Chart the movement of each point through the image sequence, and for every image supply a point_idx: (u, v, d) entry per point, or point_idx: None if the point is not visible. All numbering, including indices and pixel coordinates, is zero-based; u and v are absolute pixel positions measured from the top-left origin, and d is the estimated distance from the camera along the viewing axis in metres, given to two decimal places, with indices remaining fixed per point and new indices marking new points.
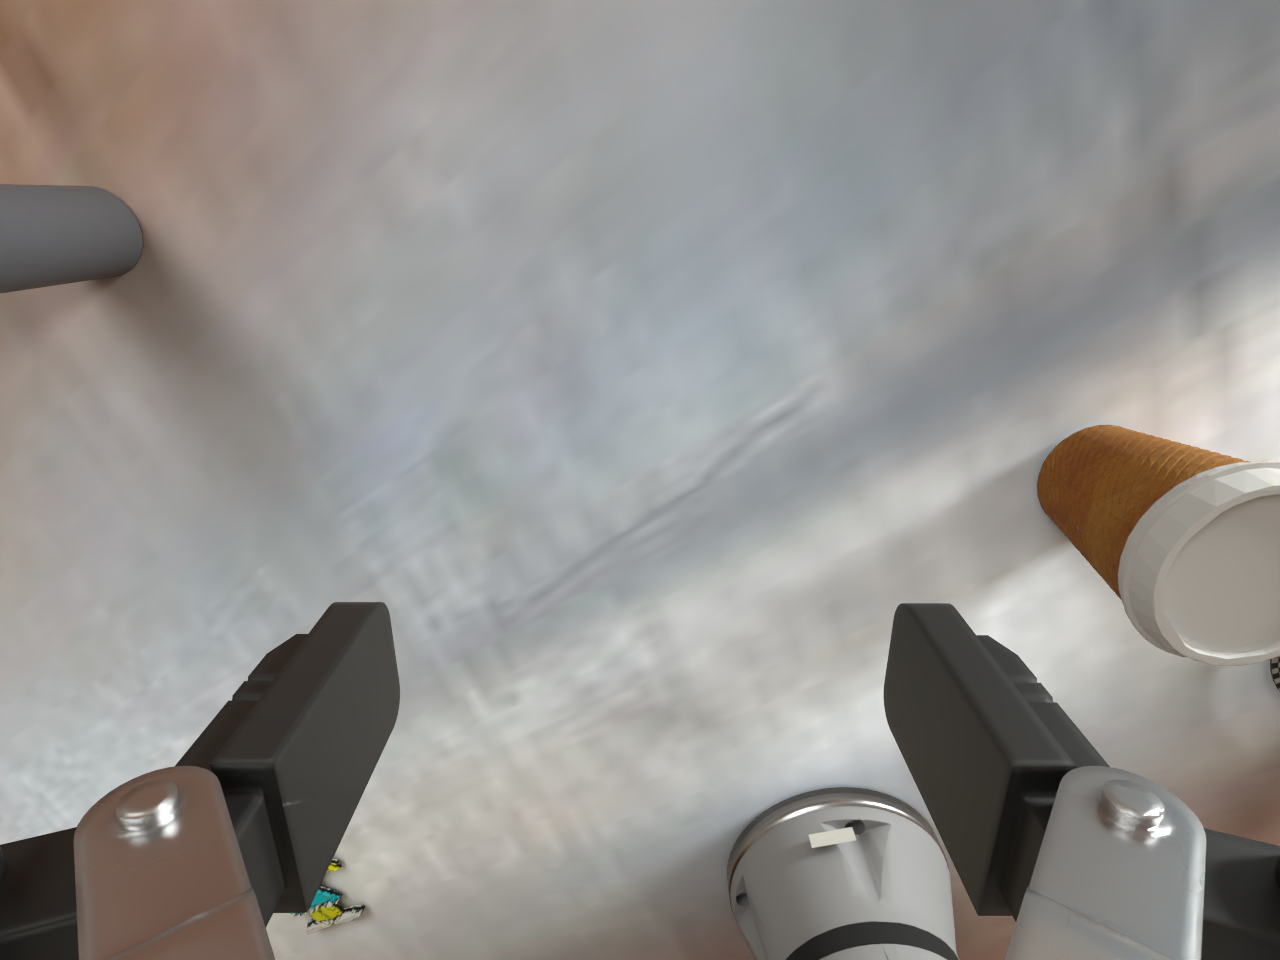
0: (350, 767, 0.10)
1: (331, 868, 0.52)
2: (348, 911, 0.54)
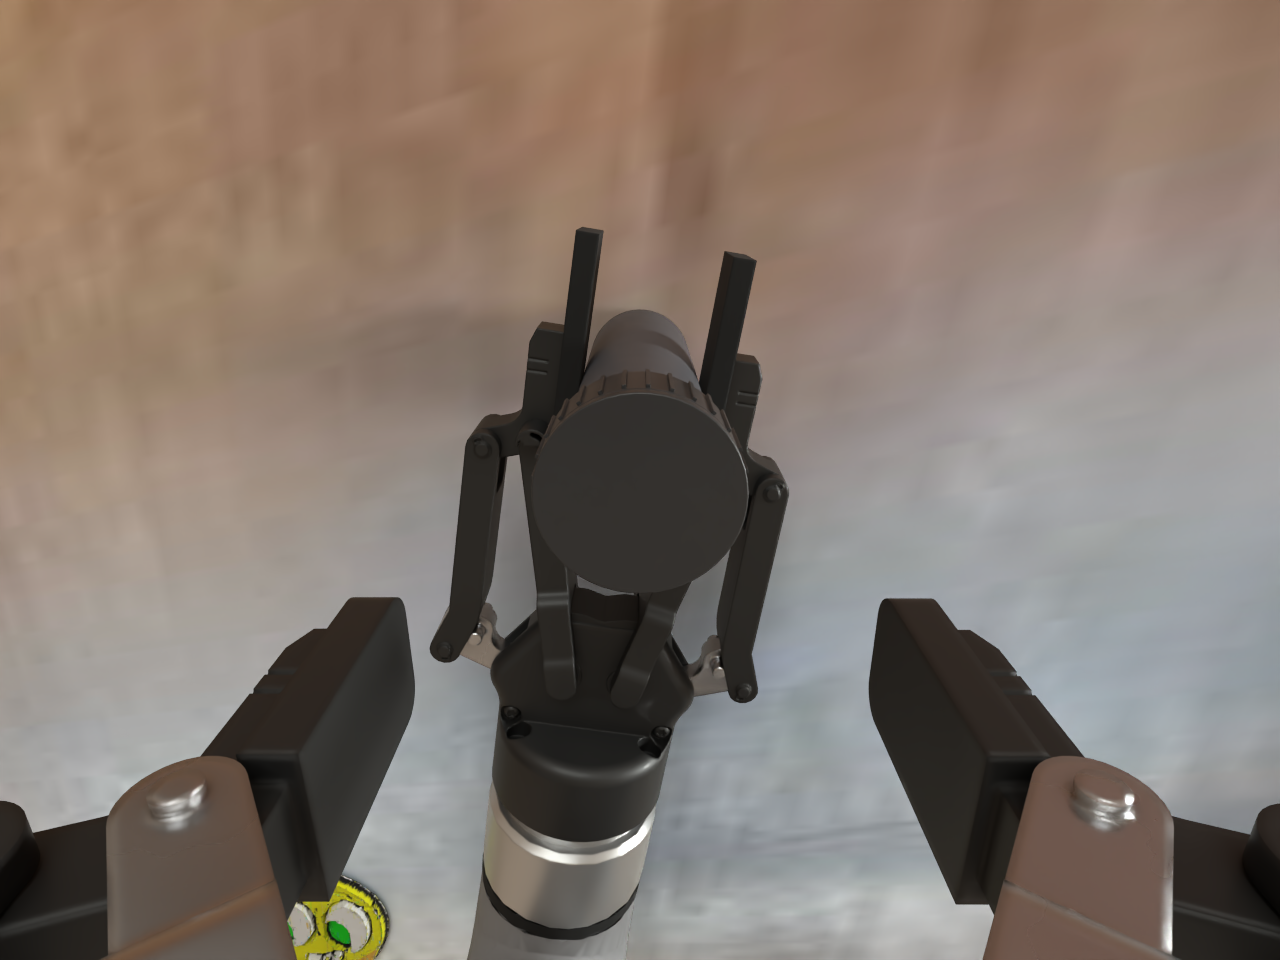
0: (369, 760, 0.10)
1: None
2: None
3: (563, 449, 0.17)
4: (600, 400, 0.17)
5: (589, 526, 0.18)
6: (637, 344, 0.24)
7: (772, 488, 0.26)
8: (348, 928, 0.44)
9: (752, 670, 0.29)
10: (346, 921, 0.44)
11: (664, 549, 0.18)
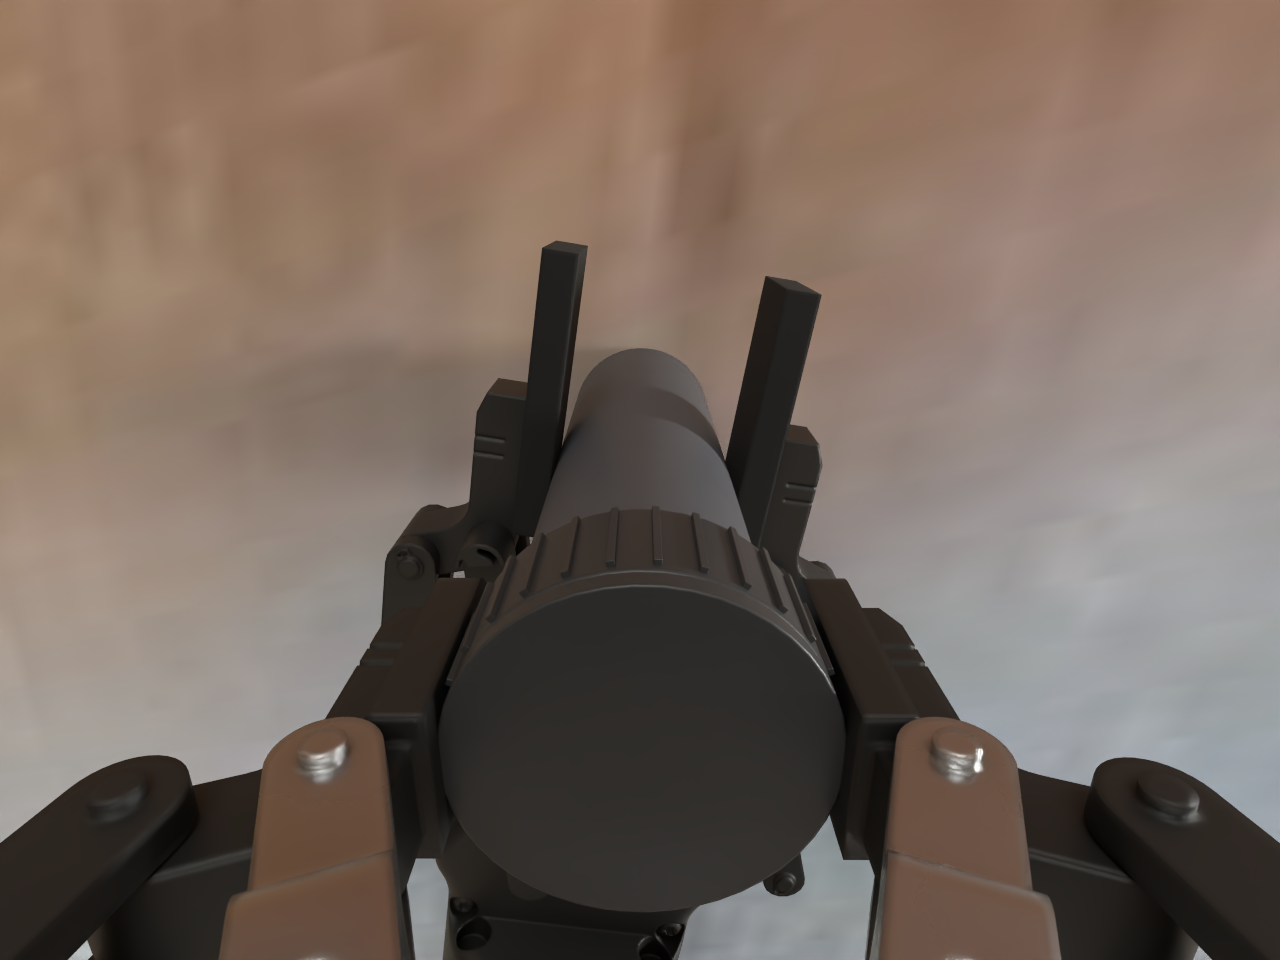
0: None
1: None
2: None
3: (493, 683, 0.09)
4: (564, 598, 0.08)
5: (547, 810, 0.10)
6: (637, 419, 0.16)
7: None
8: None
9: (797, 856, 0.21)
10: None
11: (687, 845, 0.10)
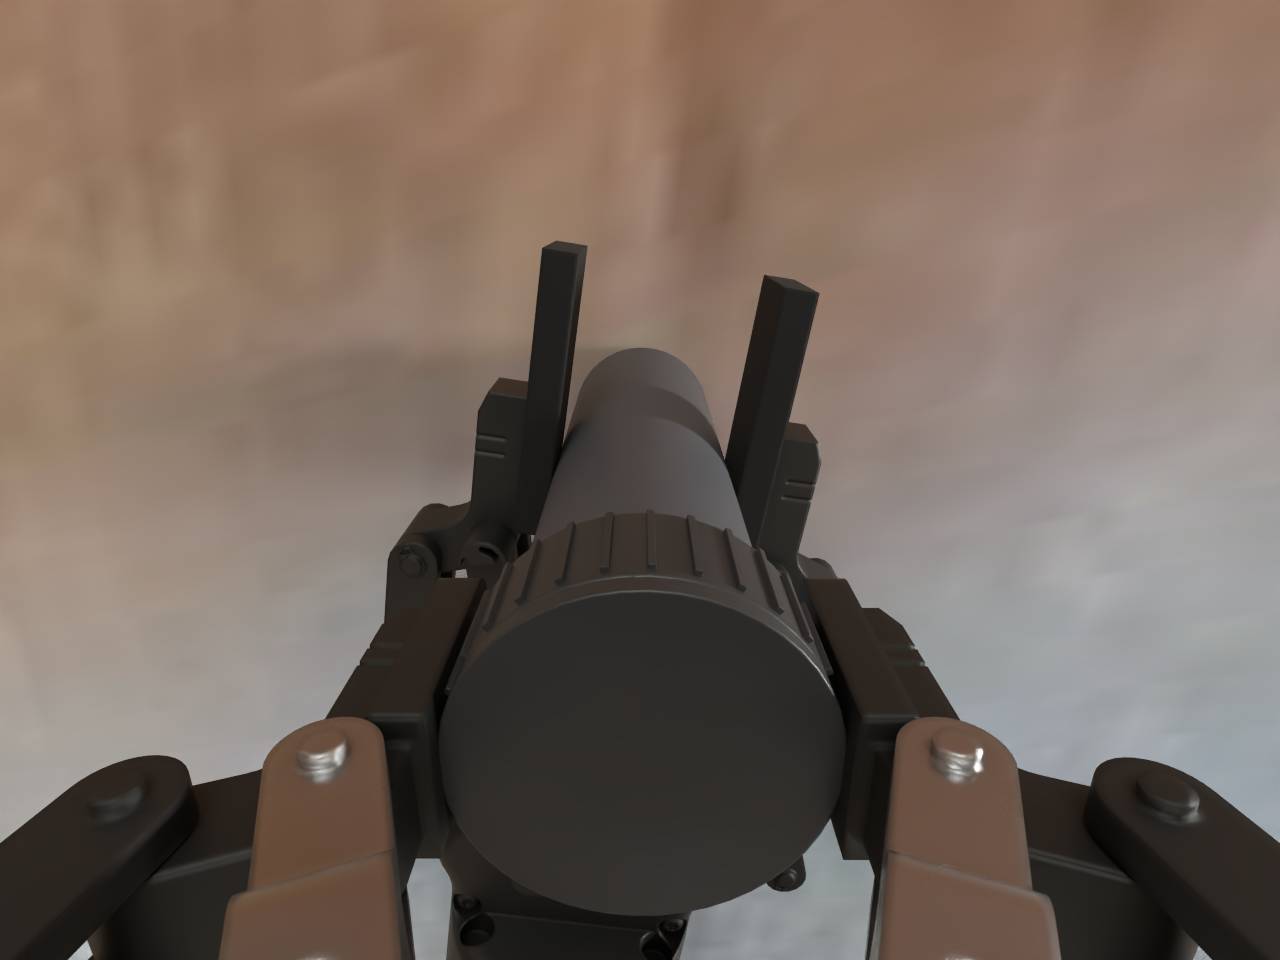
0: None
1: None
2: None
3: (577, 885, 0.10)
4: (478, 847, 0.10)
5: (714, 833, 0.10)
6: (637, 419, 0.16)
7: None
8: None
9: None
10: None
11: (740, 715, 0.09)
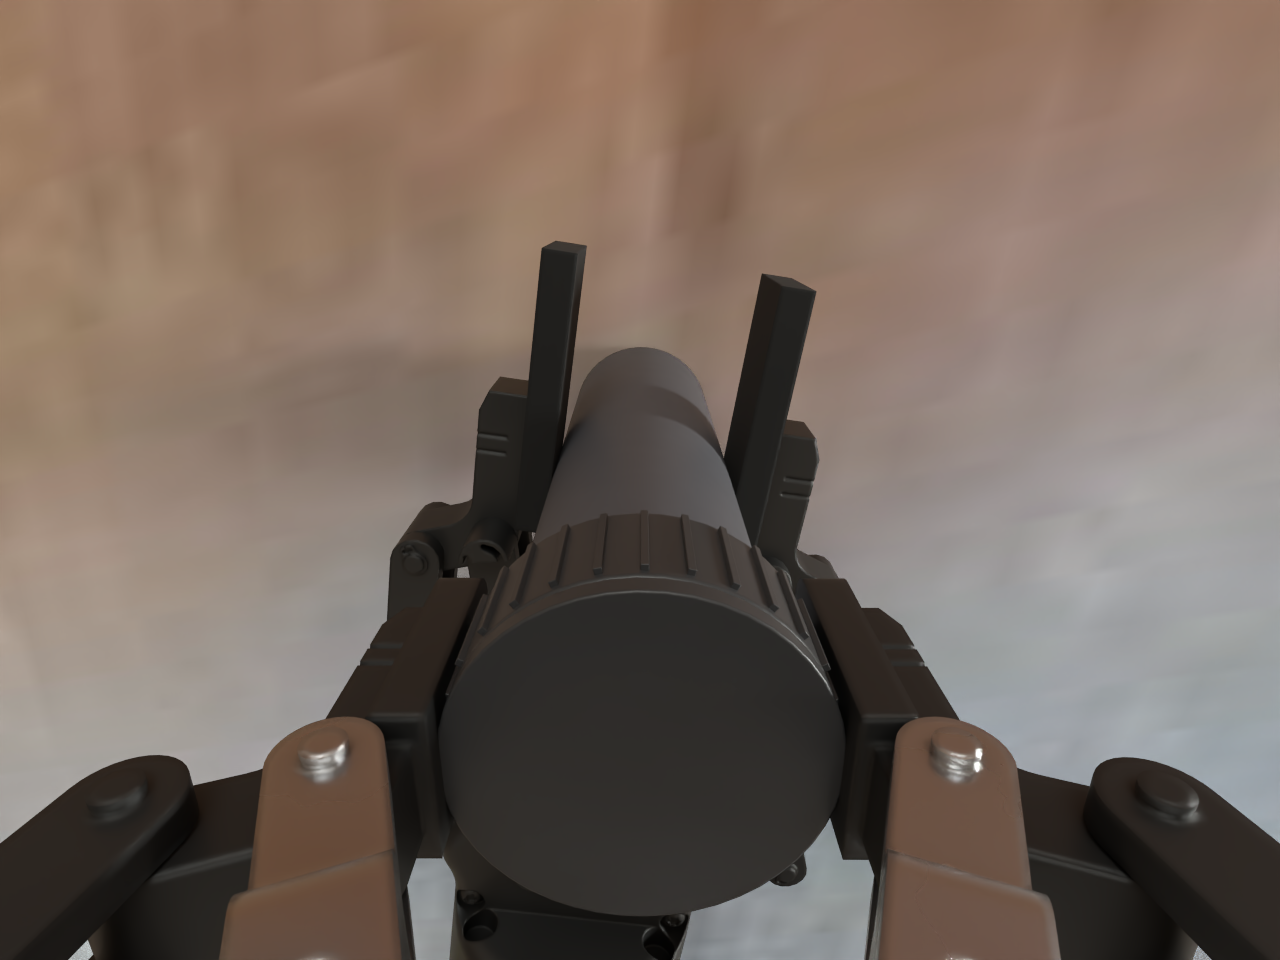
0: None
1: None
2: None
3: (806, 800, 0.09)
4: (768, 878, 0.10)
5: (712, 696, 0.09)
6: (636, 417, 0.16)
7: None
8: None
9: None
10: None
11: (553, 704, 0.09)
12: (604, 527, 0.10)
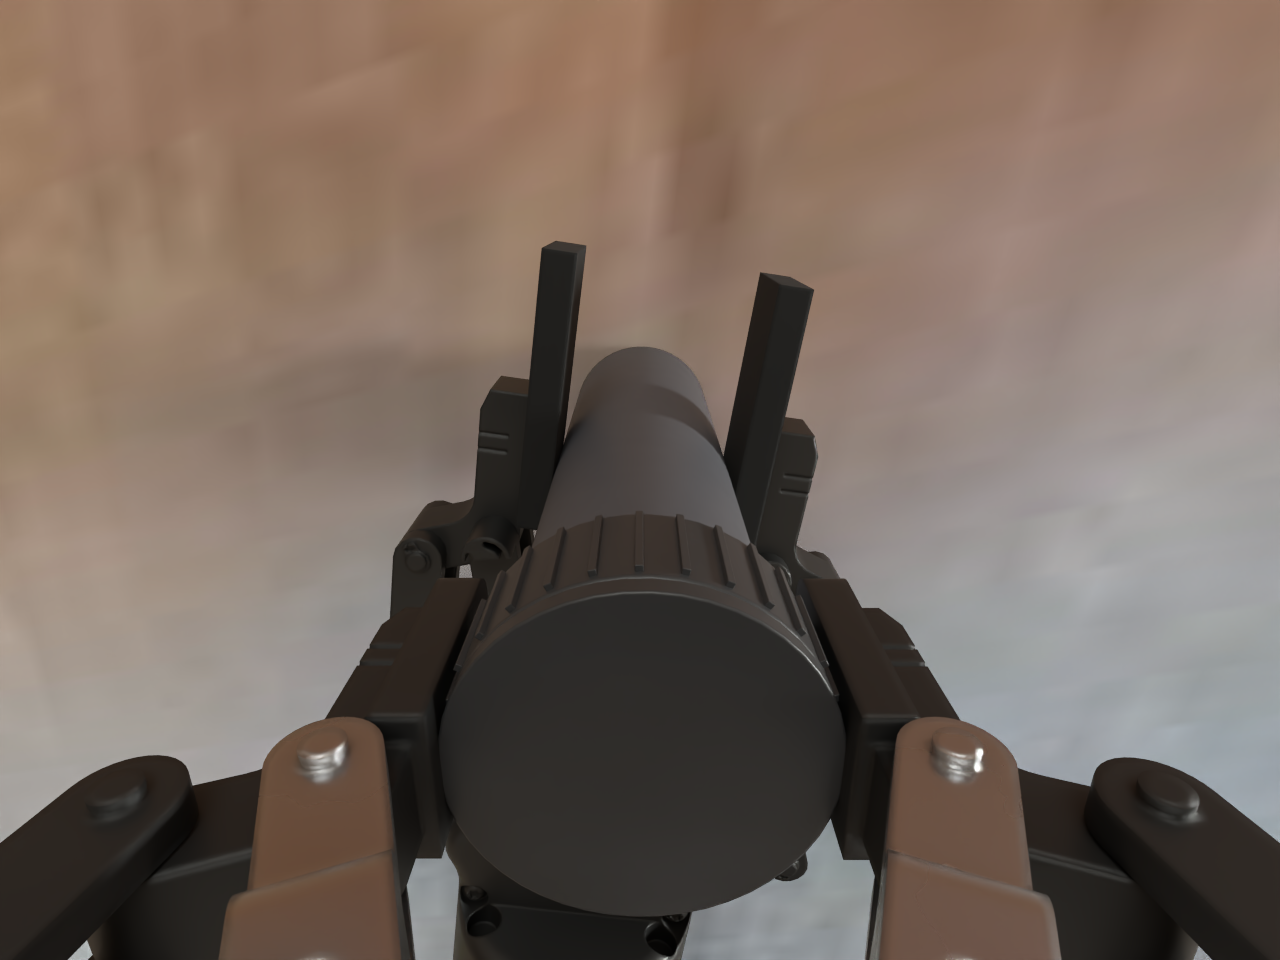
0: None
1: None
2: None
3: (648, 623, 0.09)
4: (772, 630, 0.09)
5: (538, 731, 0.09)
6: (636, 416, 0.17)
7: None
8: None
9: None
10: None
11: (582, 844, 0.10)
12: None
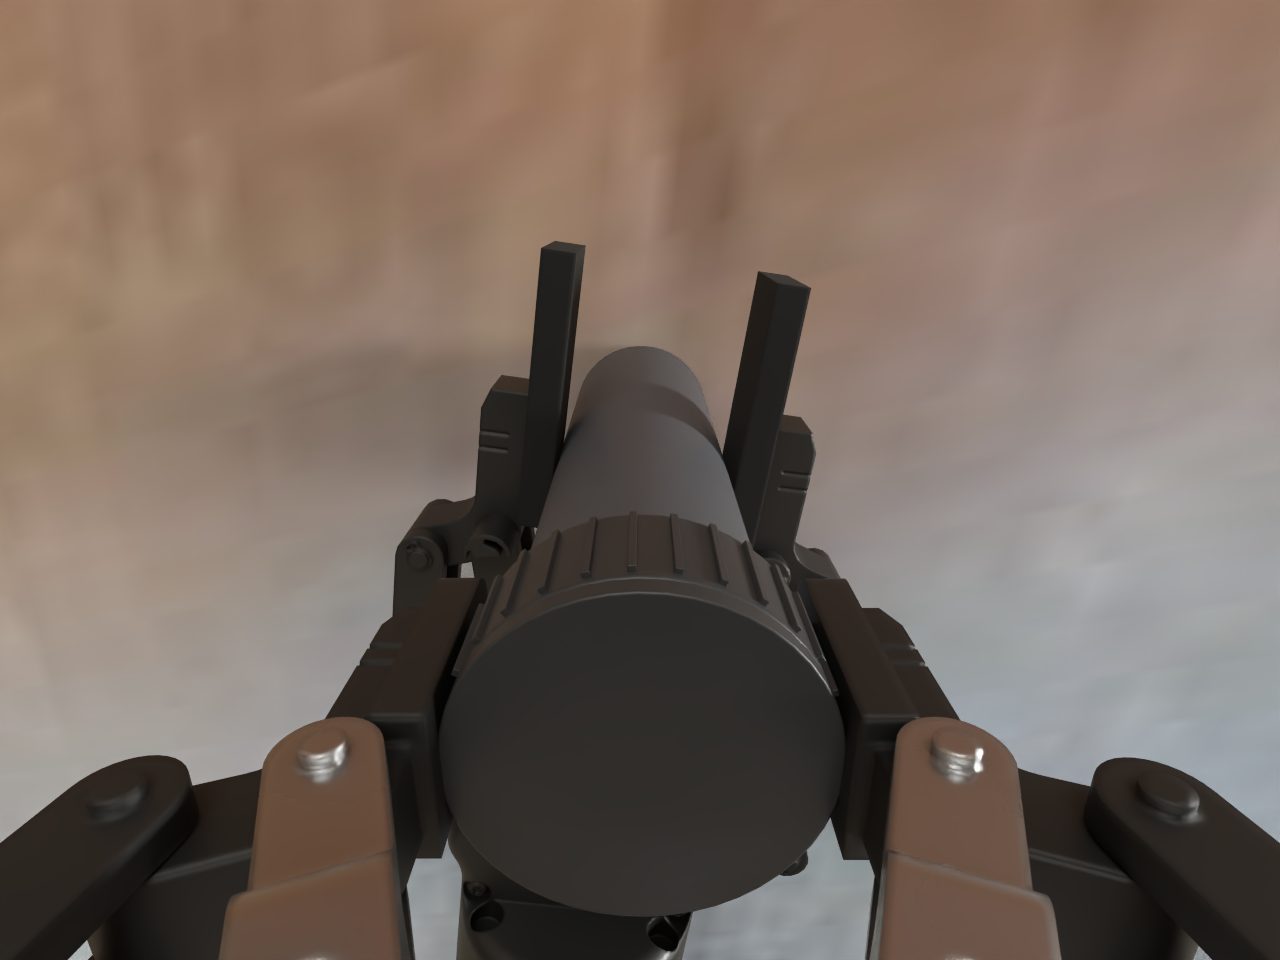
0: None
1: None
2: None
3: (474, 792, 0.09)
4: (451, 697, 0.09)
5: (613, 852, 0.10)
6: (635, 414, 0.17)
7: None
8: None
9: None
10: None
11: (747, 804, 0.10)
12: None
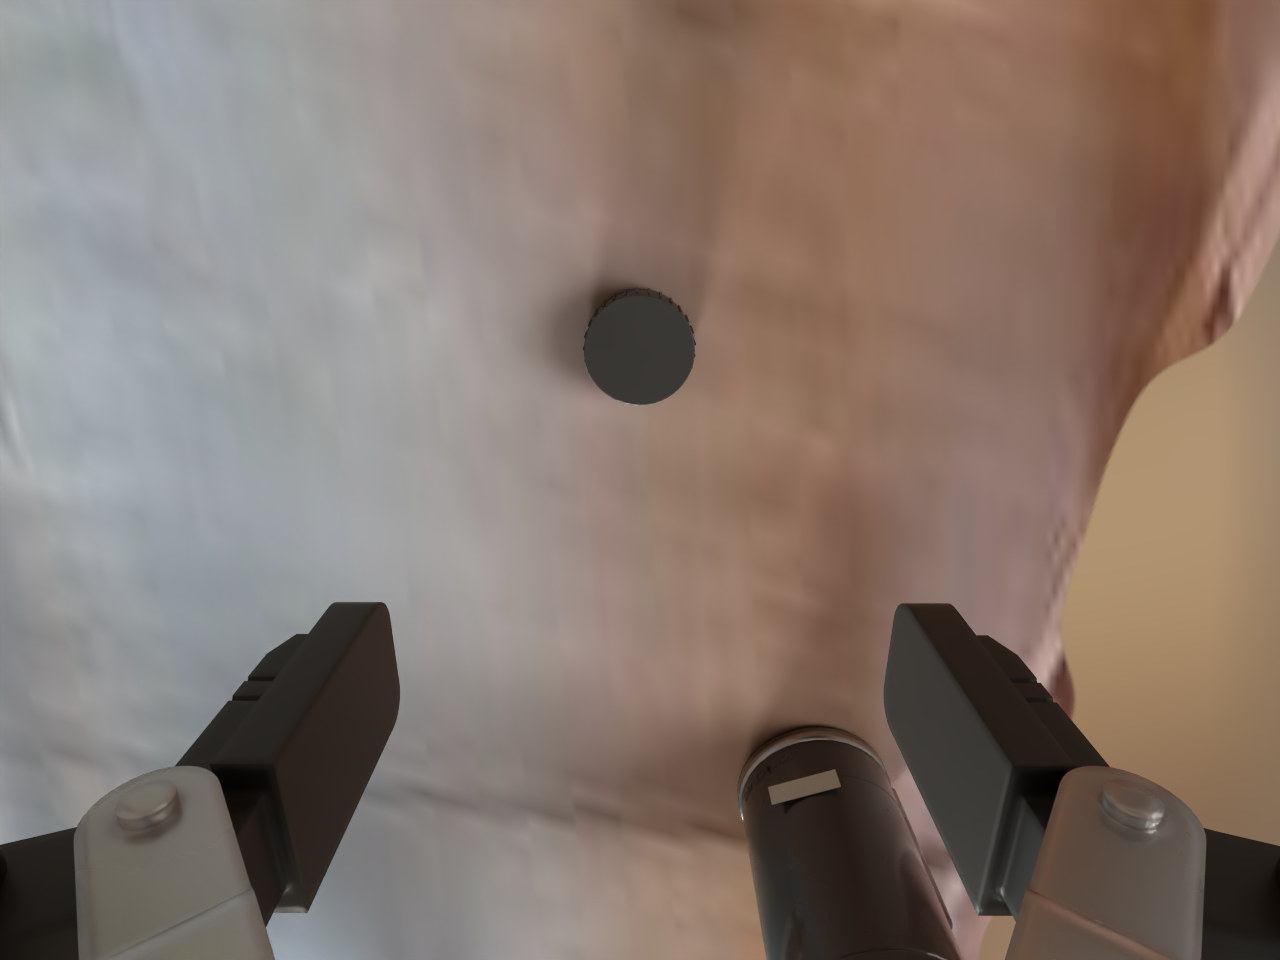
0: (350, 767, 0.10)
1: None
2: None
3: (593, 358, 0.35)
4: (589, 327, 0.34)
5: (631, 380, 0.35)
6: None
7: None
8: None
9: None
10: None
11: (668, 363, 0.35)
12: None
